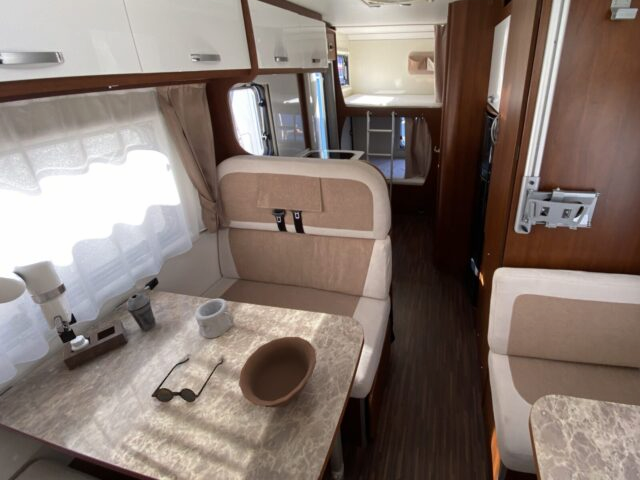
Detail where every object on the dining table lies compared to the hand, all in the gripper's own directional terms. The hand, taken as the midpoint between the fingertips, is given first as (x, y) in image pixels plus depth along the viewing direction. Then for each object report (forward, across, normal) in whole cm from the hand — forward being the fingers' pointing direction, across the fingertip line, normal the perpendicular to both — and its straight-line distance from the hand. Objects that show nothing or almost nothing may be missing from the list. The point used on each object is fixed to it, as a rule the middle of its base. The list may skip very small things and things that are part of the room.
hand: (70, 332), depth 104 cm
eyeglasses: (+11, +39, +26) cm, 48 cm away
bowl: (+11, +64, +46) cm, 80 cm away
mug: (+11, +22, +40) cm, 47 cm away
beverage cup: (+11, +1, +19) cm, 22 cm away
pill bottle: (+12, 0, +1) cm, 12 cm away
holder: (+11, 0, +4) cm, 12 cm away
